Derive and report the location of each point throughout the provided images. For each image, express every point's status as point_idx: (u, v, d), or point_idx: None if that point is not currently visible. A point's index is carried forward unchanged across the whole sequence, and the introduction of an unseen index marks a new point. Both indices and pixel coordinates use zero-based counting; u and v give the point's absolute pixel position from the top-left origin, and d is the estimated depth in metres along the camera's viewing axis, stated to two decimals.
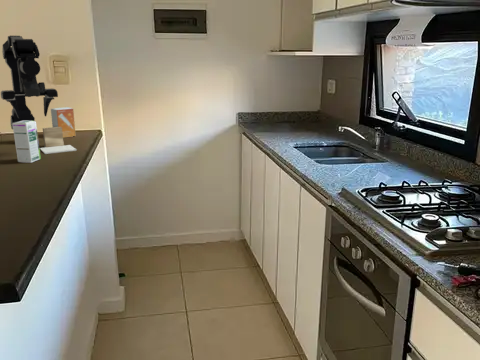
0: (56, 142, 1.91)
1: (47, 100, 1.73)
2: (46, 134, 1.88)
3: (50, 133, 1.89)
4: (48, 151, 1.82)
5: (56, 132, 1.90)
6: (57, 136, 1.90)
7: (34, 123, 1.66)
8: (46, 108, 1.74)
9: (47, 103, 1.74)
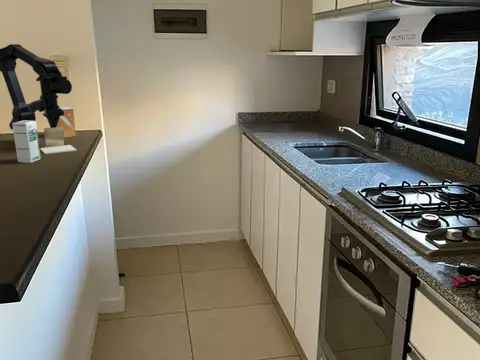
0: (57, 143, 1.90)
1: (46, 117, 1.86)
2: (47, 136, 1.86)
3: (51, 135, 1.87)
4: (48, 151, 1.82)
5: (57, 134, 1.88)
6: (58, 138, 1.89)
7: (34, 123, 1.66)
8: (49, 124, 1.88)
9: (48, 119, 1.87)
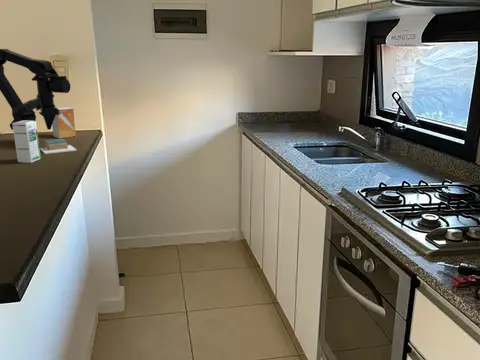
0: None
1: (42, 115, 1.92)
2: None
3: None
4: (48, 151, 1.82)
5: None
6: None
7: (34, 123, 1.66)
8: (45, 122, 1.93)
9: (44, 118, 1.92)
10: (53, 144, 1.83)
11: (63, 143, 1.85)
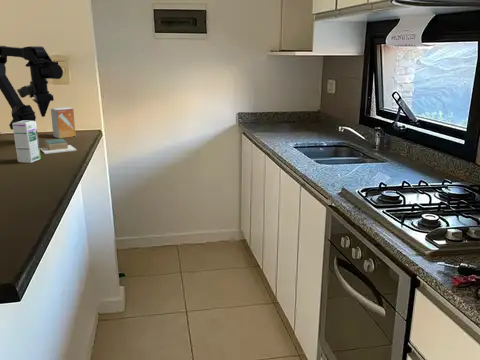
0: None
1: None
2: None
3: None
4: (48, 151, 1.82)
5: None
6: None
7: (34, 123, 1.66)
8: (39, 109, 1.90)
9: (38, 105, 1.89)
10: (53, 144, 1.83)
11: (63, 143, 1.85)
